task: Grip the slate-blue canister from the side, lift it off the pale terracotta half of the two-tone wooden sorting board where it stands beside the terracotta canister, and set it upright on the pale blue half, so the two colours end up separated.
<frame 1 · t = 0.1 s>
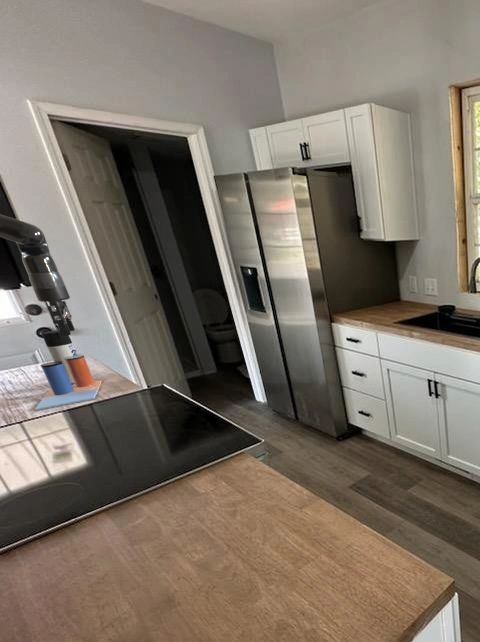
hand: (68, 333, 144), 21 cm above the worktop, tool pointing down, fingers open, 8 cm apart
sorting board: (71, 395, 146), on the worktop
terracotta canister: (85, 384, 154), point 1 cm above the worktop, touching sorting board
spray can: (76, 382, 160), on the worktop
blue canister: (64, 392, 147), point 1 cm above the worktop, touching sorting board
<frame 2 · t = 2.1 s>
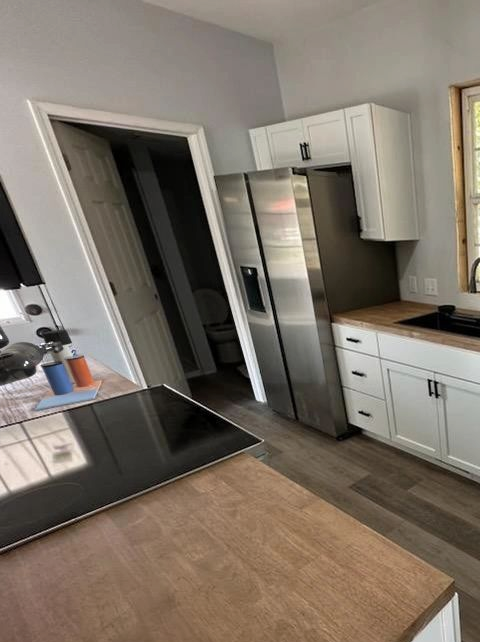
hand: (33, 347, 132), 20 cm above the worktop, tool horizontal, fingers open, 8 cm apart
nothing on the worktop moved.
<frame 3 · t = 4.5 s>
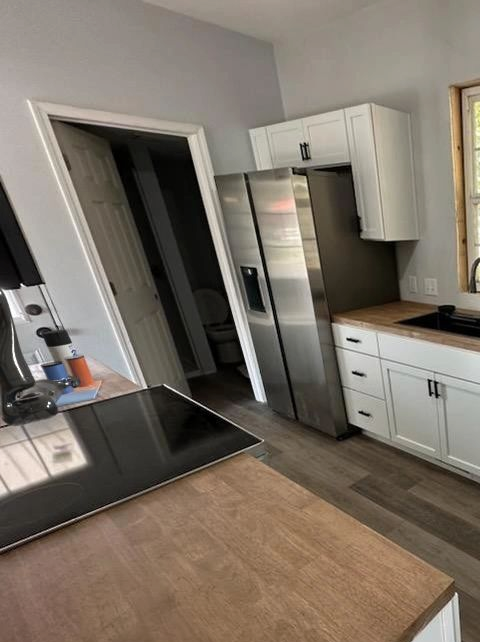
hand: (52, 381, 139), 7 cm above the worktop, tool horizontal, fingers open, 8 cm apart
nothing on the worktop moved.
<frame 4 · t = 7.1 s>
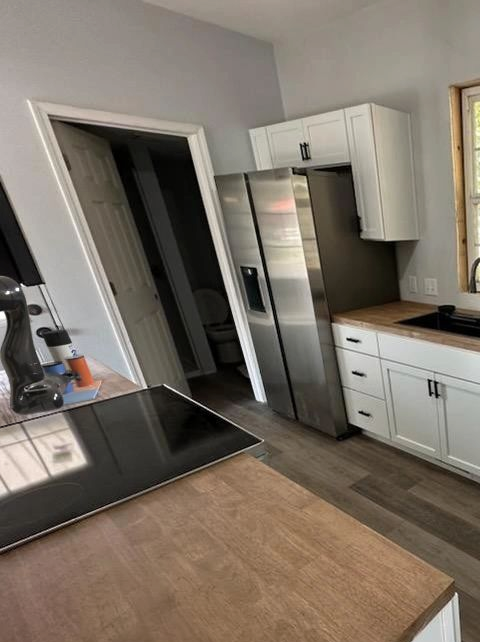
hand: (58, 374, 146), 7 cm above the worktop, tool horizontal, fingers closed on blue canister, 5 cm apart
blue canister: (64, 392, 147), point 1 cm above the worktop, touching gripper, sorting board
everything else where it was.
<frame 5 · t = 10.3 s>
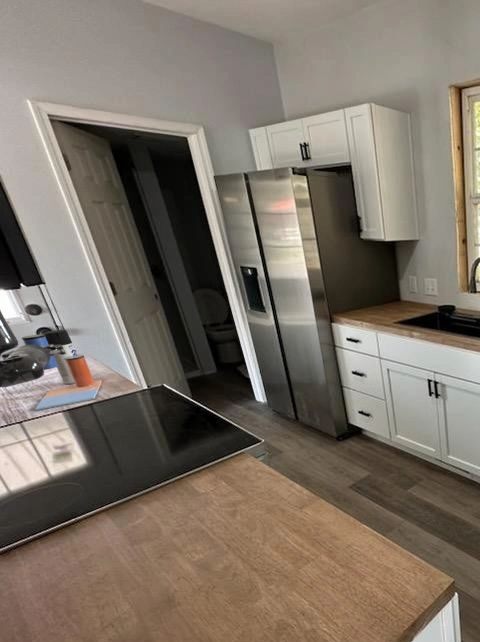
hand: (41, 348, 138), 18 cm above the worktop, tool horizontal, fingers closed on blue canister, 5 cm apart
blue canister: (47, 368, 138), point 11 cm above the worktop, touching gripper
everything else where it was.
when the fingers open (7 cm above the worktop, at t = 13.9 s): blue canister stays where it is, resting on sorting board.
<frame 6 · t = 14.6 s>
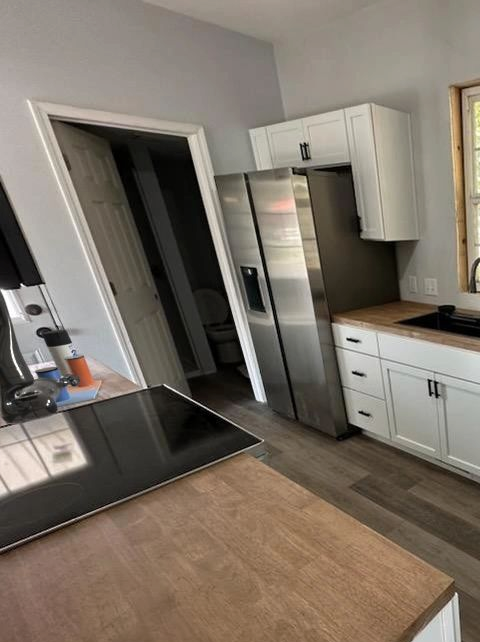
hand: (52, 379, 139), 7 cm above the worktop, tool horizontal, fingers open, 8 cm apart
blue canister: (60, 399, 140), point 1 cm above the worktop, touching sorting board
everything else where it was.
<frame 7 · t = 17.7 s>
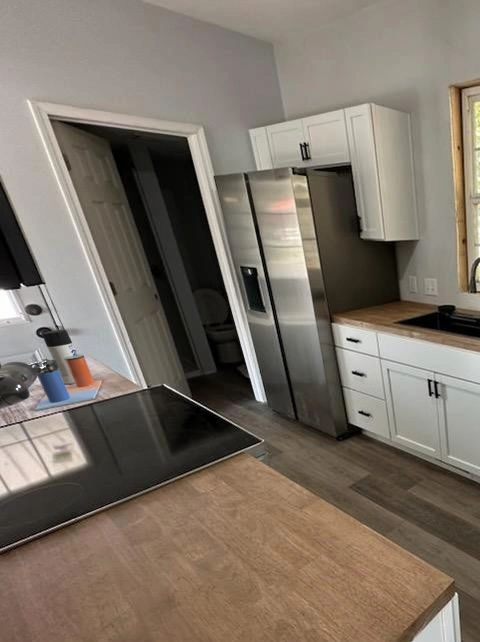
hand: (27, 364, 126), 16 cm above the worktop, tool horizontal, fingers open, 8 cm apart
nothing on the worktop moved.
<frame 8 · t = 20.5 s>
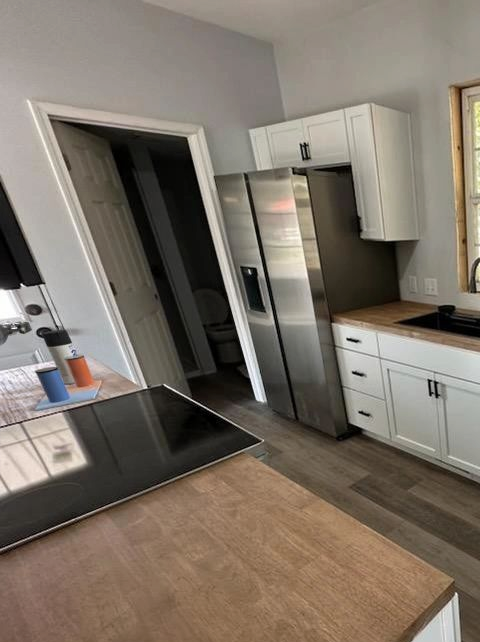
nothing on the worktop moved.
at the end: blue canister inside the target area (1.4 cm from its centre), point 0.6 cm above the worktop; blue canister tilted 0°; terracotta canister inside the target area (3.9 cm from its centre), point 0.6 cm above the worktop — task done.
